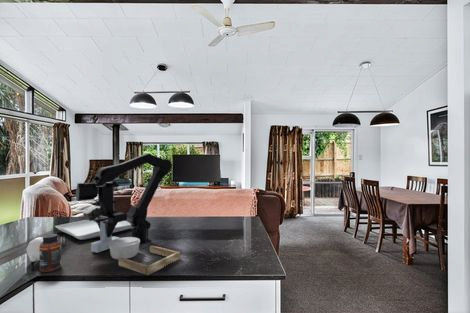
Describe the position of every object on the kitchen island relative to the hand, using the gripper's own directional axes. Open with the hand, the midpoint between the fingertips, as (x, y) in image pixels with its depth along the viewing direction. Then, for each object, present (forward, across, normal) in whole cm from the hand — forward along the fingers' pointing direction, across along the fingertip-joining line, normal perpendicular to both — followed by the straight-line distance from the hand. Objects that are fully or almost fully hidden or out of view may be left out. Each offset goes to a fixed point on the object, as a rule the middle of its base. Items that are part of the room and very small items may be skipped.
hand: (106, 236), depth 105 cm
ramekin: (+6, +12, 0) cm, 13 cm away
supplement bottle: (+5, 0, -21) cm, 21 cm away
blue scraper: (+4, 0, 0) cm, 5 cm away
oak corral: (+5, +25, 0) cm, 26 cm away
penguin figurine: (+5, -12, -17) cm, 21 cm away
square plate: (+6, -28, +13) cm, 32 cm away
